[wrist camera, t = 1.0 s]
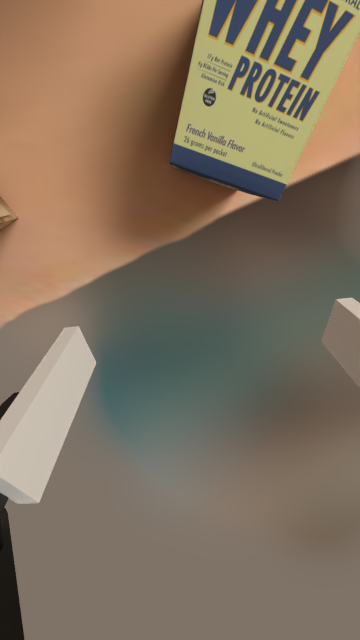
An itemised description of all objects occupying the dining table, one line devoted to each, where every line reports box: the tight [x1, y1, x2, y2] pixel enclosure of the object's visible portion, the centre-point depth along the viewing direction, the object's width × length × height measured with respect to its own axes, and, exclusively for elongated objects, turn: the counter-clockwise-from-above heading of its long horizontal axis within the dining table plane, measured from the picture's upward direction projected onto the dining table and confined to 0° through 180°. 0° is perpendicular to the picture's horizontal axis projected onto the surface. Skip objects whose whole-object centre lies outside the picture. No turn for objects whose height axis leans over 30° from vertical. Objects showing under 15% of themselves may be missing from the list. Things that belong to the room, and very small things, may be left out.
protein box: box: [170, 0, 360, 201], centre depth 21 cm, size 10×16×16 cm
